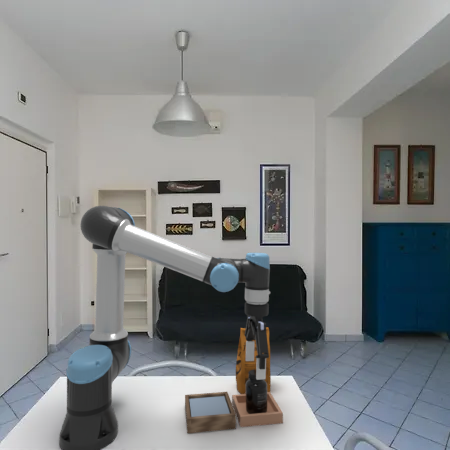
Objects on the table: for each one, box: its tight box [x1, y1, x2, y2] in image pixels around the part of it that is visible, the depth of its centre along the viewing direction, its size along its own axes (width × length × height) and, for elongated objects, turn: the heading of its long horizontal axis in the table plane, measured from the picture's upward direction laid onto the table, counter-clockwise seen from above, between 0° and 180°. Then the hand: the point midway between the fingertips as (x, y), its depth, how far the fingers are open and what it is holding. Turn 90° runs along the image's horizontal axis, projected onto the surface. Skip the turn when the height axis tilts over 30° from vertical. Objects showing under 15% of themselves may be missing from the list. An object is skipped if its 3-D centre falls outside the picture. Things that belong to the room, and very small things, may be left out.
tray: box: [231, 391, 284, 428], centre depth 106 cm, size 13×13×3 cm
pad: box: [189, 396, 230, 417], centre depth 103 cm, size 11×11×1 cm
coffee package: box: [235, 326, 272, 394], centre depth 122 cm, size 10×12×22 cm
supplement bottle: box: [246, 370, 267, 414], centre depth 106 cm, size 7×7×12 cm
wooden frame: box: [184, 391, 237, 434], centre depth 103 cm, size 14×14×4 cm
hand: (254, 369), depth 106 cm, fingers open, 13 cm apart
